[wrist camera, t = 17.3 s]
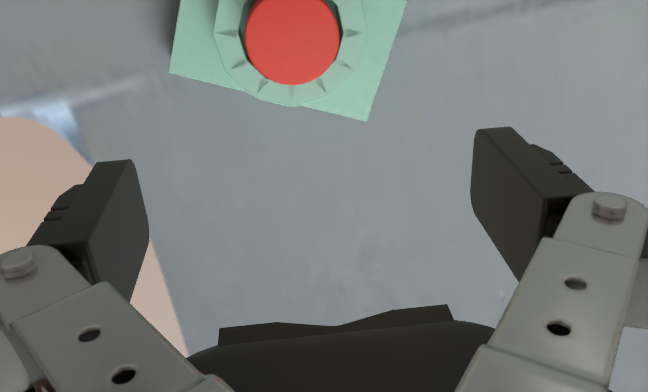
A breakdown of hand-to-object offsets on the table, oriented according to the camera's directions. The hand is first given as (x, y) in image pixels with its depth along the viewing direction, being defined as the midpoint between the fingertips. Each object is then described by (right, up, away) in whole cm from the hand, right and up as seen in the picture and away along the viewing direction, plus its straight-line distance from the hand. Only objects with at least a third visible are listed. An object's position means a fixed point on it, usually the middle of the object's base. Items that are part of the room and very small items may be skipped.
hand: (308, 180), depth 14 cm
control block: (-2, +9, +18) cm, 20 cm away
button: (-1, +8, +15) cm, 16 cm away
